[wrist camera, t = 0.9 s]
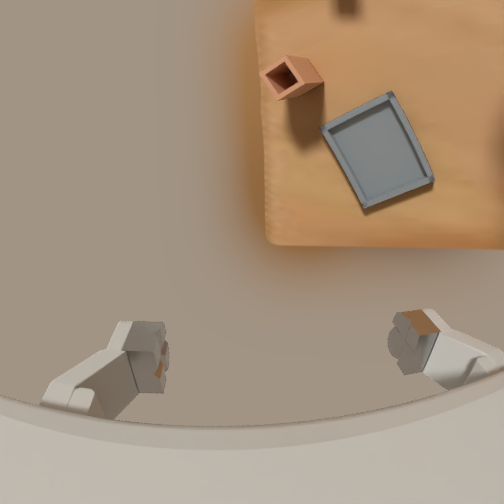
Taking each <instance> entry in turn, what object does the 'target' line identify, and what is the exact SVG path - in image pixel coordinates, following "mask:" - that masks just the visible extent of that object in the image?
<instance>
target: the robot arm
mask: <svg viewBox="0 0 504 504" xmlns="http://www.w3.org/2000/svg"><path fill="white" fill-rule="evenodd" d="M393 324H394V326H395V327H394V328H393V329H392V330H391V331H390V333H389V336H388V348H389V351H390V353H391V355H392V356H394V357H395V358H397V359H398V361H397V364H398V366H399V367H400V369H401V371H402V372H403V374H404V375H408V374H413V373H418V372H423V373H424V374H425V375H427V376H428V377H430V378H431V379H432V380H434V381H435V382H437V383H438V384H440V385H441V386H442V387H444V388H446V389H447V390H448V391H446V392H443V393H439V394H436V395H433V396H429V397H426V398H423V399H419V400H415V401H411V402H407V403H403V404H399V405H395V406H390V407H386V408H381V409H376V410H371V411H367V412H361V413H356V414H350V415H344V416H339V417H332V418H325V419H317V420H309V421H301V422H291V423H280V424H268V425H267V424H266V425H247V426H182V425H162V424H149V423H139V422H129V421H120V420H114V419H115V418H116V416H117V415H118V414H119V413H120V412H121V411H122V410H123V409H124V408H125V407H126V406H127V405H128V404H129V403H130V402H131V401H132V400H133V399H134V398H135V397H136V396H137V395H138V394H139V393H164V388H165V383H166V376H165V372H166V371H167V370H168V366H169V347H168V343H167V342H166V341H165V335H166V329H165V324H164V323H163V322H146V321H127V320H122V321H119V323H118V325H117V327H116V329H115V331H114V333H113V335H112V337H111V340H110V342H109V344H108V346H107V349H106V350H105V349H102V350H100V351H99V352H97V353H95V354H94V355H93V356H91V357H89V358H88V359H86V360H85V361H83V362H81V363H80V364H78V365H77V366H75V367H73V368H72V369H70V370H69V371H67V372H65V373H64V374H62V375H61V376H59V377H58V378H56V379H54V380H53V381H51V383H50V385H49V387H48V389H47V391H46V393H45V394H44V396H43V398H42V400H41V403H40V405H34V404H31V403H27V402H23V401H20V400H16V399H13V398H9V397H6V396H3V395H0V504H504V353H503V352H502V351H501V350H500V349H498V348H496V347H493V346H491V345H489V344H486V343H484V342H482V341H479V340H477V339H475V338H473V337H471V336H468V335H466V334H464V333H462V332H459V331H457V330H452V329H451V328H450V327H449V326H448V325H447V324H446V323H445V322H444V321H443V320H442V319H441V318H440V317H439V315H438V314H437V313H436V312H435V311H434V310H433V309H431V308H425V309H419V310H413V311H406V312H398V313H396V315H395V316H394V319H393Z"/></svg>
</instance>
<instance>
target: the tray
mask: <svg viewBox="0 0 504 504" xmlns="http://www.w3.org/2000/svg"><path fill="white" fill-rule="evenodd" d="M320 130H321V131H322V133H323V135H324V136H325V138H326V140H327V142H328V143H329V145H330V147H331V148H332V150H333V152H334V154H335V155H336V157H337V159H338V161H339V162H340V164H341V166H342V168H343V170H344V171H345V173H346V175H347V177H348V179H349V181H350V183H351V184H352V186H353V188H354V190H355V192H356V194H357V196H358V198H359V200H360V202H361V204H362V206H363V208H367V207H369V206H372V205H374V204H377V203H380V202H382V201H385V200H387V199H390V198H392V197H395V196H397V195H400V194H403V193H405V192H408V191H410V190H413V189H415V188H418V187H420V186H423V185H425V184H428V183H431V182H433V181H435V178H434V175H433V172H432V170H431V168H430V165H429V163H428V161H427V158H426V156H425V154H424V152H423V150H422V147H421V145H420V143H419V141H418V139H417V137H416V135H415V133H414V131H413V129H412V127H411V125H410V123H409V121H408V119H407V117H406V115H405V113H404V111H403V110H402V108H401V106H400V104H399V102H398V100H397V99H396V97H395V95H394V93H393V92H392V91H390V92H388V93H386V94H384V95H382V96H379V97H377V98H375V99H373V100H371V101H369V102H367V103H365V104H363V105H361V106H359V107H357V108H355V109H353V110H351V111H350V112H348V113H346V114H344V115H342V116H340V117H338V118H336V119H334V120H332V121H330V122H329V123H327V124H325V125H323V126H321V127H320Z"/></svg>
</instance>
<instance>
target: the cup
mask: <svg viewBox="0 0 504 504" xmlns="http://www.w3.org/2000/svg"><path fill="white" fill-rule="evenodd" d="M259 75H260V76H261V78H262V79H263V80H264V82H265V83H266V85H267V86H268V88H269V89H270V91H271V92H272V94H273V95H274V97H275V98H276V100H277V101H279V100H284V99H288V98H293V97H298V96H301V95H303V94H305V93H306V92H308V91H310V90H312V89H313V88H315V87H317V86H318V85H320V84H322V83H324V81H323V80H322V78H321V77H320V75H319V74H318V72H317V71H316V69H315V68H314V66H313V65H312V63H311V62H310V61H309V59H307V58H301V57H295V56H288V55H285V56H283V57H282V58H280V59H279V60H278V61H276V62H275V63H273V64H272V65H270V66H269V67H267V68H266V69H265V70H263V71H262V72H260V73H259Z"/></svg>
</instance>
